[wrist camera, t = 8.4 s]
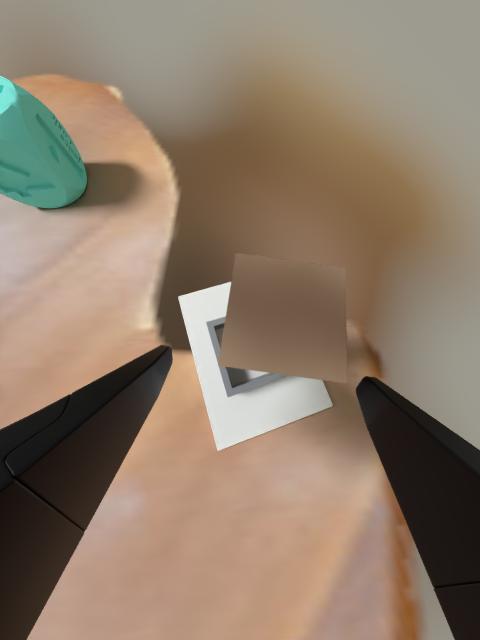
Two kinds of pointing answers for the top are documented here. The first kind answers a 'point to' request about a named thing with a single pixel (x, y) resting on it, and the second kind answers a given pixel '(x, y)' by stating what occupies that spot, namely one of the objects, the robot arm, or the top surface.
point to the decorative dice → (36, 152)
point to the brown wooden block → (286, 319)
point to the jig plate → (241, 378)
